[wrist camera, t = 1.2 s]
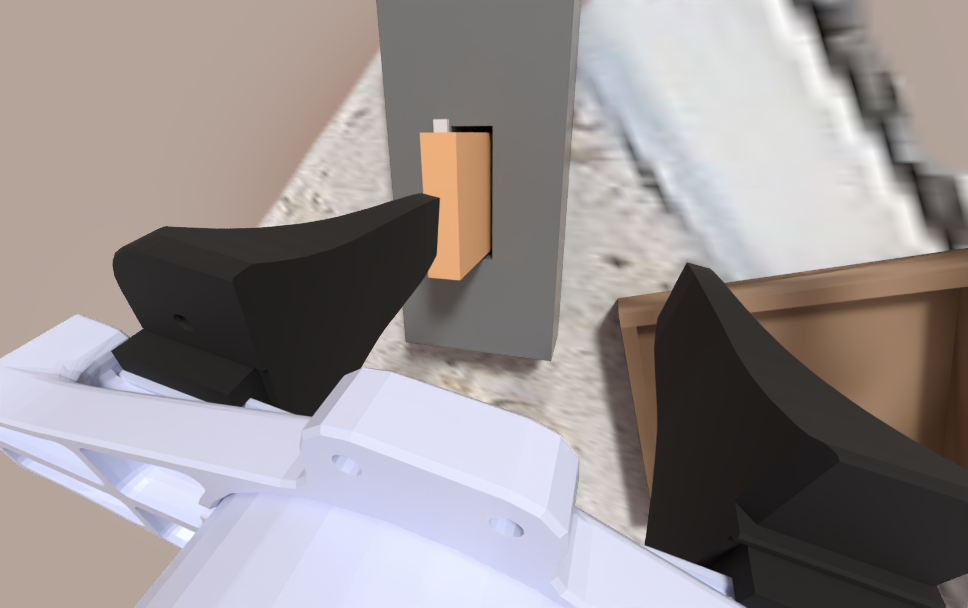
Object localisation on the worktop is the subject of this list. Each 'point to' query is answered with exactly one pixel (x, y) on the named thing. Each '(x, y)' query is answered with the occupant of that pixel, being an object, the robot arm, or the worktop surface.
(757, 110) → the worktop surface
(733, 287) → the tray
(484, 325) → the dispenser
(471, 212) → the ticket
